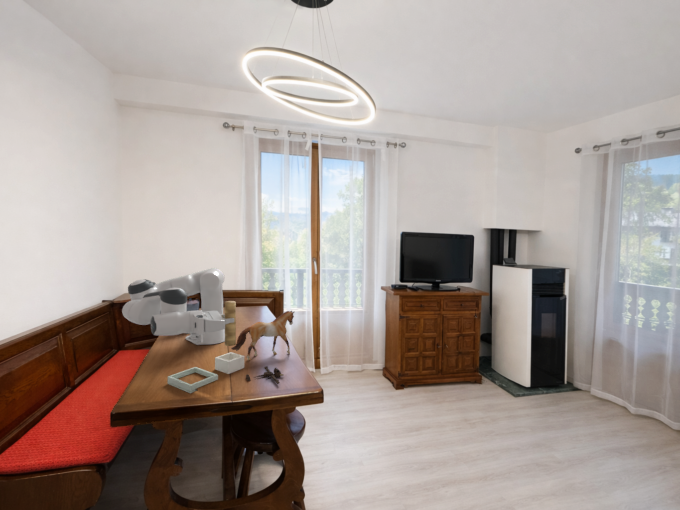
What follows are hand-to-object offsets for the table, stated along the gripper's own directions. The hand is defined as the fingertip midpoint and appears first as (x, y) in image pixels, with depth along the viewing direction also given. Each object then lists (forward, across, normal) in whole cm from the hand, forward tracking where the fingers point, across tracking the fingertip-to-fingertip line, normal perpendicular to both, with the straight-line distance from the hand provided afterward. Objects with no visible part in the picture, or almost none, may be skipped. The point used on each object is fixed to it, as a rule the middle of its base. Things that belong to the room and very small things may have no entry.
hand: (232, 318), depth 141 cm
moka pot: (-10, -71, -23) cm, 75 cm away
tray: (-16, +6, -22) cm, 28 cm away
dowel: (-1, 0, -11) cm, 11 cm away
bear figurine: (+10, +13, -23) cm, 29 cm away
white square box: (-1, -1, -23) cm, 23 cm away
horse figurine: (+17, -13, -23) cm, 32 cm away
